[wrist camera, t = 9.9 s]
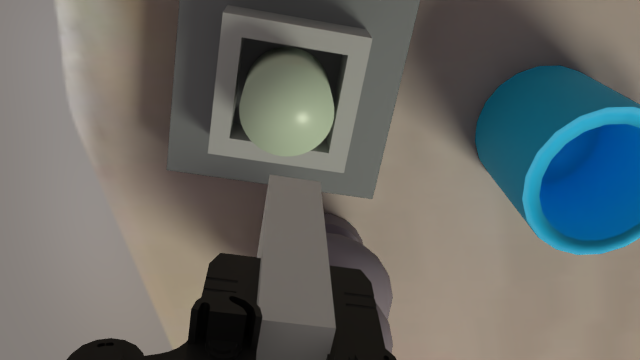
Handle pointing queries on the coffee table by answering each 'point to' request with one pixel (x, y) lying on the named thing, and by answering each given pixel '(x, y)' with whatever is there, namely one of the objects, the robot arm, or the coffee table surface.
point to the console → (303, 33)
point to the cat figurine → (360, 266)
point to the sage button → (286, 102)
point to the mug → (565, 157)
